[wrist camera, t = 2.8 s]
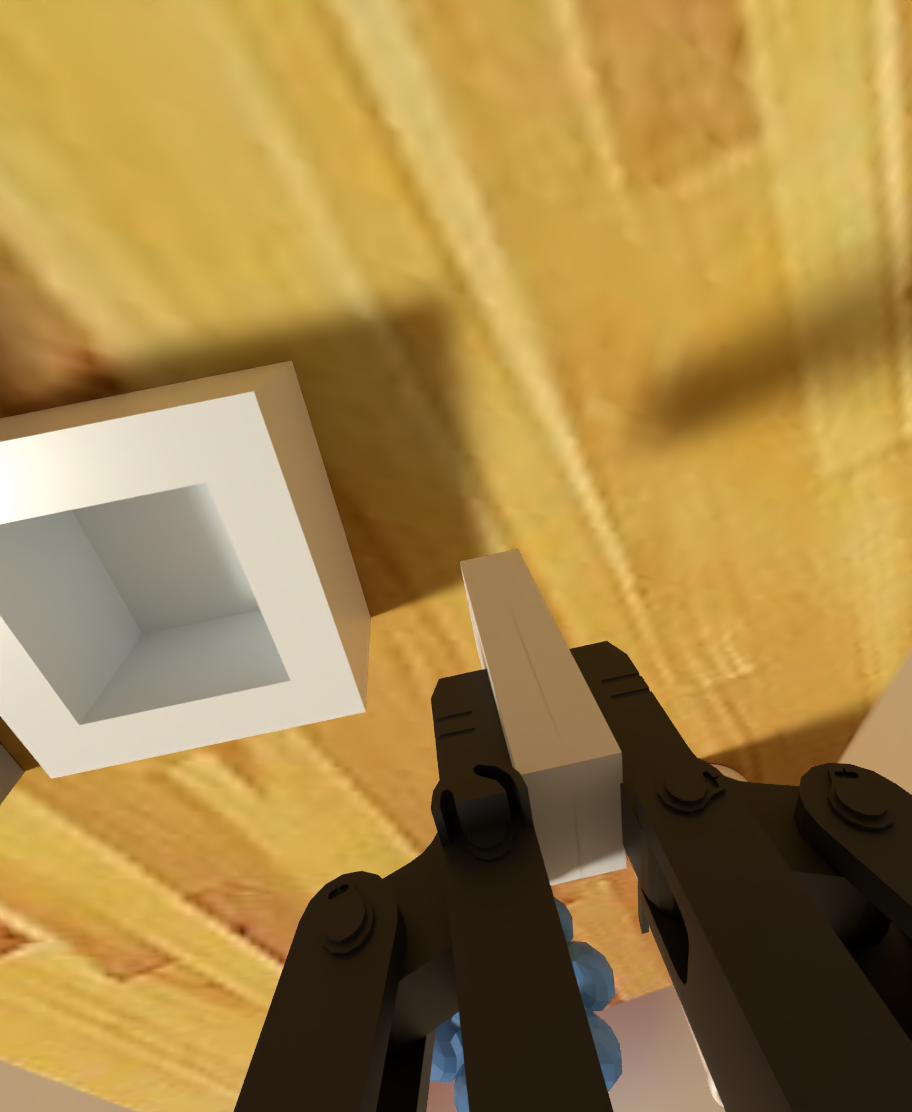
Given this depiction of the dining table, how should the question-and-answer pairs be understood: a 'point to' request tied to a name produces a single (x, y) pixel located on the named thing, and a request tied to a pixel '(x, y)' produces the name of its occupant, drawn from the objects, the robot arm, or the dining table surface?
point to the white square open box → (173, 573)
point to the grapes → (595, 996)
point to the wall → (8, 773)
